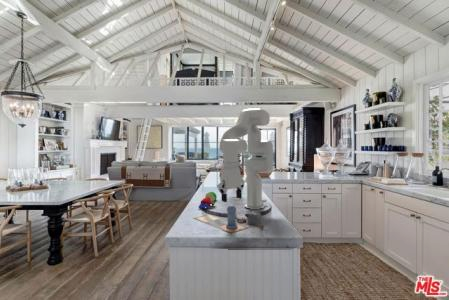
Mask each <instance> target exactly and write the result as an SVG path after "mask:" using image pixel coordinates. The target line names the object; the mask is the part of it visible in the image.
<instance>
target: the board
mask: <svg viewBox="0 0 449 300" xmlns="http://www.w3.org/2000/svg"><path fill="white" fill-rule="evenodd" d="M192 219H193V220H196V221H198V222H201V223H203V224H206V225H208V226H211V227H214V228H217V229H219V230H221V231H223V232H226V233H228V234H233V233H236V232H239V231H244V230H246V229H249V228H250V227H248V226H246V225H243V224H240V223H237V222H236V224H237V228H236V229H228V228H226V225H227V224H228V219H225V218H223V217H219V216H216V215H213V214H210V213H209V214H205V215H201V216H196V217H192Z"/></svg>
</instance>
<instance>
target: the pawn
mask: <svg viewBox="0 0 449 300" xmlns="http://www.w3.org/2000/svg"><path fill="white" fill-rule="evenodd" d="M226 211H227V220H228V224H227V225H226V228H228V229H236V228H237V224H238V223H237V222H236V221H237V218H236V216H237V215H236V213H237V208H236V206H235V205H234V204H229V205H228V206H227V208H226ZM236 223H237V224H236Z"/></svg>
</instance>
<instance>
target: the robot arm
mask: <svg viewBox="0 0 449 300" xmlns="http://www.w3.org/2000/svg"><path fill="white" fill-rule="evenodd" d="M270 121H271V117H270V114H269V112H268V111H267V110H265V109H263V108H246V109H243V110H241V111H240V113H239V116H238V119H237V120H236V124H235V125H233V126H232V127H230V128H228V129H227V130H225V131H224V133H223V134H222V136H221V139H220V141H219V151H220V153H222V158H223V160H222V161H223V162H222V163H223V165H222V166H223V167H222V168H221V172H220V182H219V183H218V184H217V185H216V187H217V189H218V192H220V195H221V202H224V203H227V202H228V195H227V191H228V190H232V189H236V194H235V195H236V197H235V198H237V199H242V197H243V196H242V191H243V188H244V187H245V182H246V203H245V204H244V208H245V207H246V208H245V209H247V208H250V209H249V210H261V209H260V208H262V209H265V205H264V203H267V202H268V201H267V199H263V184H262V183H263V181H262V177H261V176H260V174H271V173H272V172H273V170H274V146H273V145H274V144H273V142H272V141H271V140H269V139H267V140H266V139H262V131H261V129H260V128H259V126H260V127H261V126H263V127H264V126H268V124H269V123H270ZM244 136H247V141H246V140H245V139H244V138H243V139H242V138H241V137H244ZM246 152H248V155H250V156H252V157H248V158H246V160H245V162H244V169H245V174H246V175H245V176H246V181H245V180H244V179H242V175H241V174H242V173H241V170H240V167H239V166H240V162H239V154H240V155H241V154H245V153H246ZM253 156H255V157H253ZM256 156H257V157H256ZM258 156H264V157H258Z"/></svg>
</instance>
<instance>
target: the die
mask: <svg viewBox="0 0 449 300" xmlns="http://www.w3.org/2000/svg"><path fill="white" fill-rule="evenodd" d="M261 220H262V212H260V211H259V212H257V211H250V212H249V213H247V224H250V225H251V224H252V225H256V224H257V225H259V224H260V223H261V222H262V221H261Z"/></svg>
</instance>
